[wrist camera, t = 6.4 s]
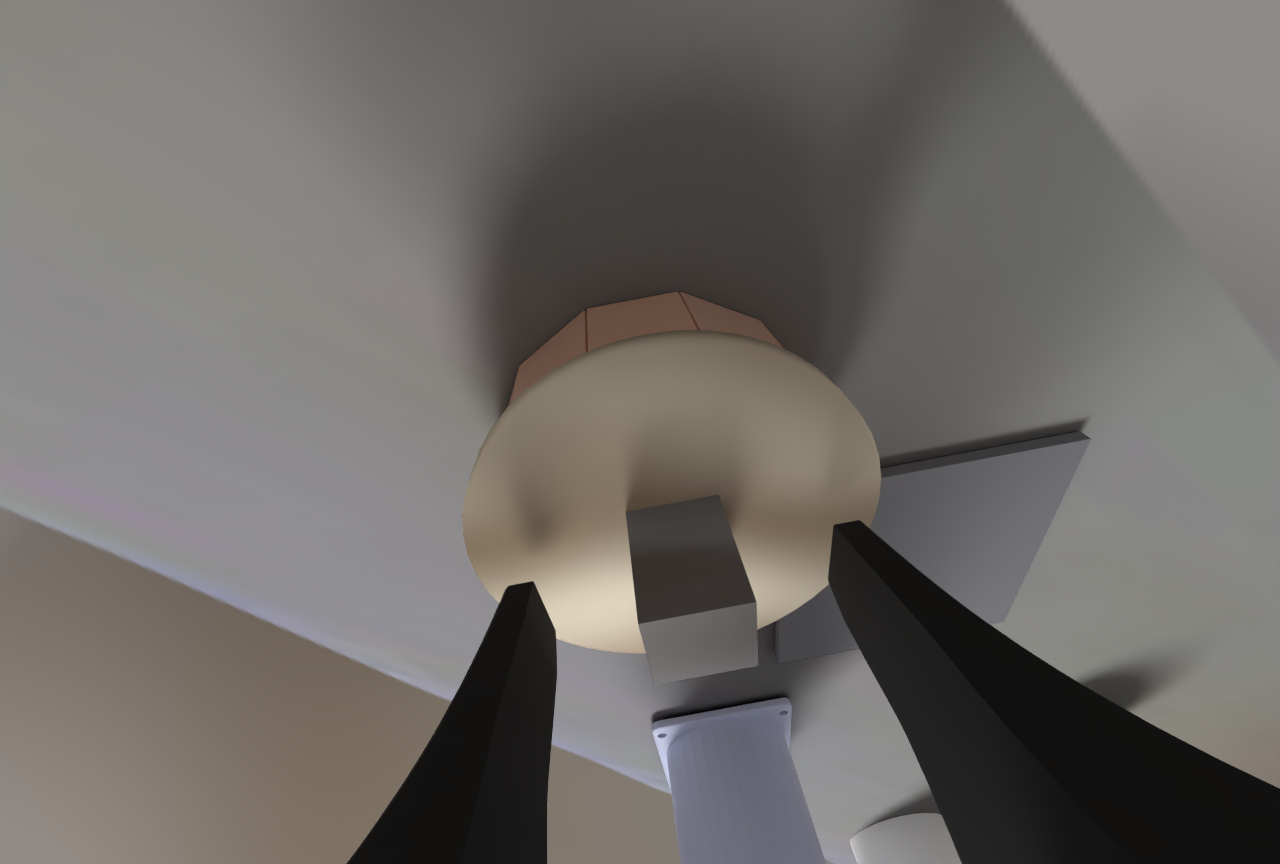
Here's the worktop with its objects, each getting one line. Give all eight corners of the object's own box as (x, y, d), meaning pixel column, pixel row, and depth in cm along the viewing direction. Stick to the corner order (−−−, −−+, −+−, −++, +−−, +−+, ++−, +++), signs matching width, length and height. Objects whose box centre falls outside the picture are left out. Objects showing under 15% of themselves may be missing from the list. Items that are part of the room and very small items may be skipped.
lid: (847, 597, 17) (913, 719, 13) (535, 656, 17) (524, 791, 13) (893, 286, 10) (1039, 371, 7) (393, 381, 10) (307, 509, 7)
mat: (996, 613, 25) (1003, 621, 24) (775, 654, 25) (778, 663, 24) (1079, 431, 18) (1090, 438, 18) (776, 488, 18) (781, 496, 18)
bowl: (796, 517, 19) (834, 590, 16) (550, 563, 19) (545, 644, 16) (806, 266, 13) (867, 310, 11) (457, 333, 14) (424, 394, 11)
